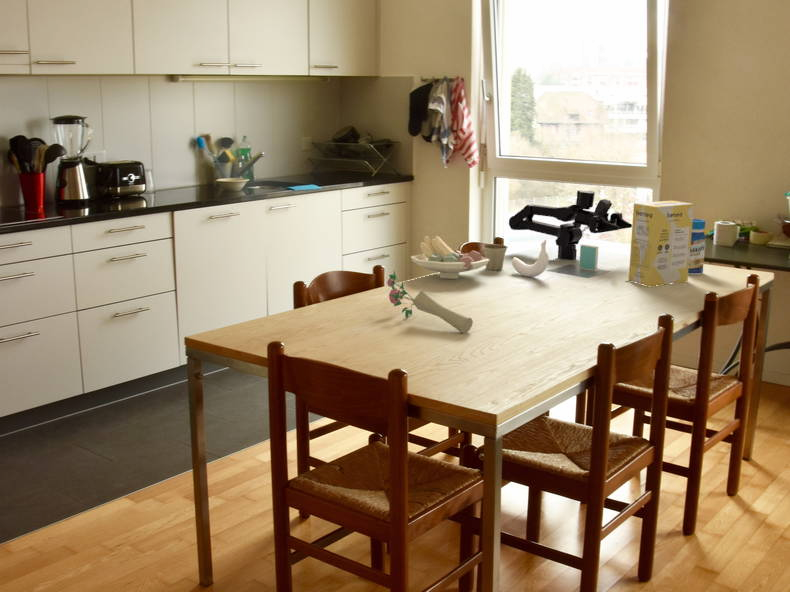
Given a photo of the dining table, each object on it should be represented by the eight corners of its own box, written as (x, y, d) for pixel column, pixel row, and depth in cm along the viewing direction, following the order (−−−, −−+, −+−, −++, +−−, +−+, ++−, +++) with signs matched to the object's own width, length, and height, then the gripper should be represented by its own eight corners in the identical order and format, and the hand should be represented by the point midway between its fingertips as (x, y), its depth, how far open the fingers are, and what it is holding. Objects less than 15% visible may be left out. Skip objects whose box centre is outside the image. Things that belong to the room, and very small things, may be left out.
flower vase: (452, 359, 249) (370, 310, 271) (481, 339, 255) (399, 293, 277) (451, 326, 242) (367, 279, 264) (481, 306, 249) (396, 262, 270)
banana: (514, 271, 331) (516, 232, 327) (551, 280, 316) (553, 240, 312) (505, 272, 328) (506, 233, 324) (542, 281, 313) (543, 241, 310)
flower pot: (510, 268, 336) (511, 245, 334) (500, 272, 328) (500, 249, 326) (488, 265, 341) (489, 243, 339) (477, 269, 333) (478, 247, 331)
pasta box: (665, 276, 323) (671, 200, 317) (687, 281, 314) (694, 203, 308) (628, 281, 315) (633, 203, 308) (650, 287, 306) (656, 207, 299)
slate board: (545, 272, 328) (546, 270, 328) (569, 266, 339) (569, 264, 339) (587, 280, 316) (587, 277, 316) (610, 273, 327) (611, 271, 327)
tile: (579, 268, 332) (580, 244, 330) (580, 267, 333) (582, 244, 331) (595, 271, 328) (596, 247, 326) (597, 270, 329) (598, 246, 326)
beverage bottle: (701, 271, 332) (706, 218, 327) (704, 276, 324) (709, 222, 319) (678, 270, 333) (682, 218, 329) (681, 275, 325) (685, 221, 321)
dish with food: (426, 267, 337) (427, 230, 334) (497, 273, 327) (498, 235, 323) (399, 281, 312) (399, 242, 309) (474, 289, 302) (475, 248, 298)
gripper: (579, 200, 332) (615, 208, 322) (606, 196, 345) (641, 204, 335) (575, 228, 335) (611, 237, 325) (601, 224, 348) (636, 232, 338)
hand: (625, 227), depth 331 cm, fingers open, 9 cm apart
